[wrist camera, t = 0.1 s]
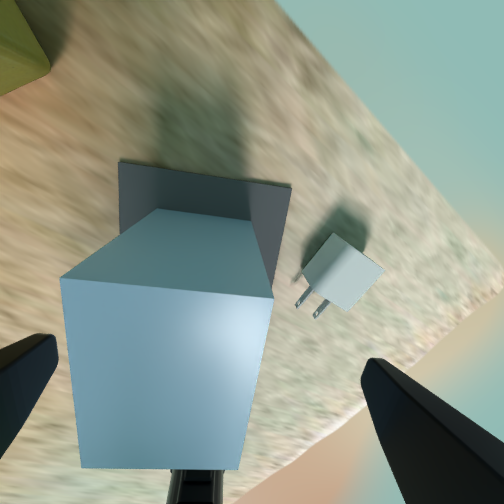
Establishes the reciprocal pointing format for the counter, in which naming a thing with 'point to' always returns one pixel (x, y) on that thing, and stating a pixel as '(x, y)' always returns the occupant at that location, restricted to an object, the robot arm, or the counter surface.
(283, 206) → the mat
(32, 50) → the flower pot
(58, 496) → the counter surface
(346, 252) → the usb wall charger
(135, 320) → the light blue rectangular block
